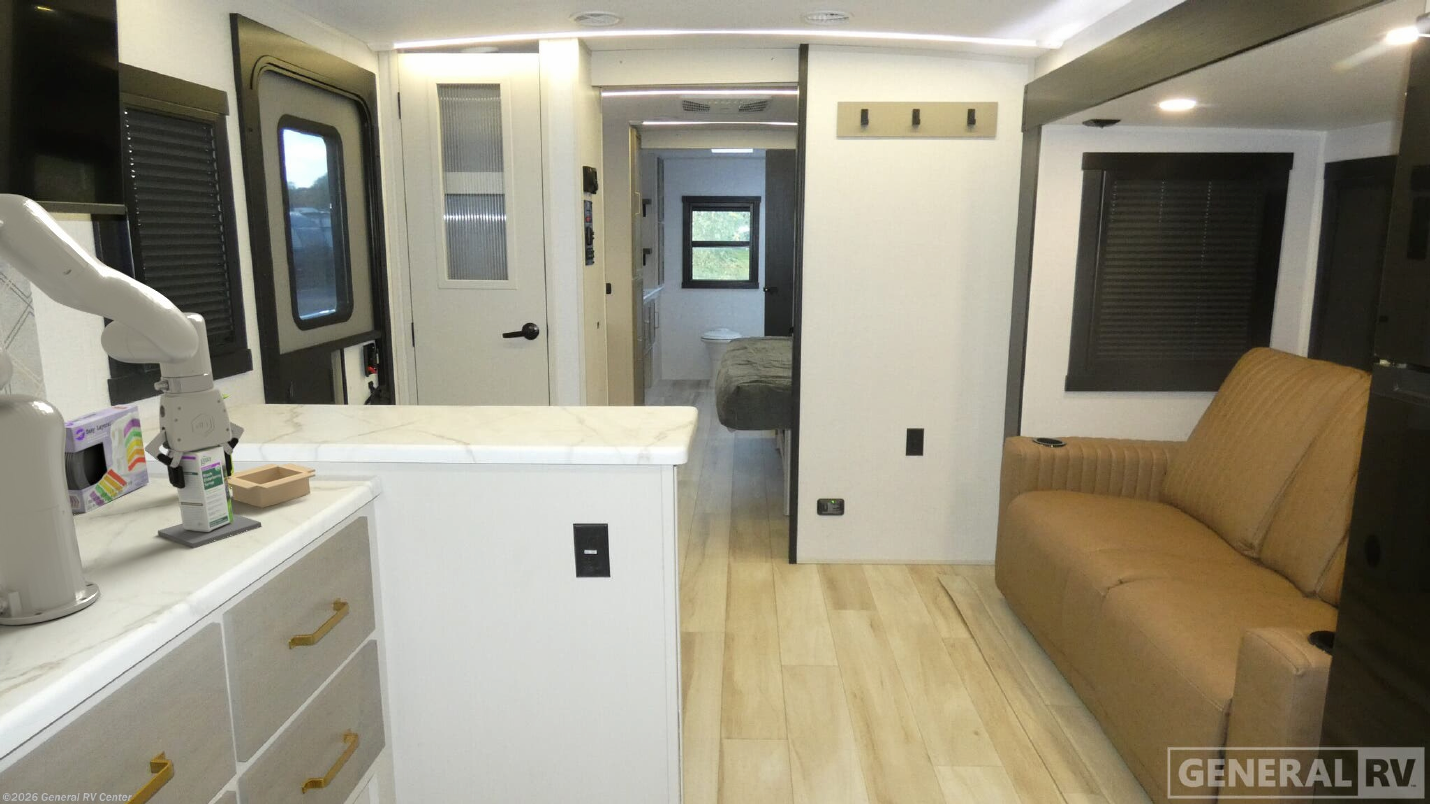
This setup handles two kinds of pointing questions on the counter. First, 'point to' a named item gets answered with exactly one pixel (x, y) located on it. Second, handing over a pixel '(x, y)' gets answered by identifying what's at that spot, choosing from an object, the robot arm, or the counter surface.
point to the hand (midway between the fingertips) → (202, 480)
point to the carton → (270, 484)
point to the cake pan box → (104, 457)
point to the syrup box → (205, 490)
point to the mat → (202, 537)
